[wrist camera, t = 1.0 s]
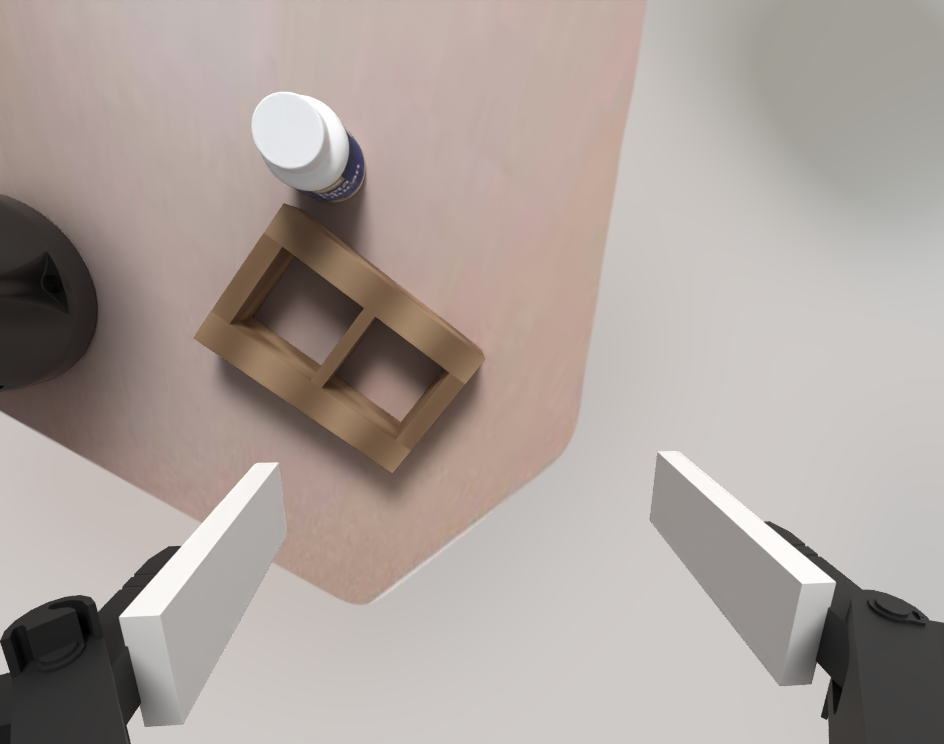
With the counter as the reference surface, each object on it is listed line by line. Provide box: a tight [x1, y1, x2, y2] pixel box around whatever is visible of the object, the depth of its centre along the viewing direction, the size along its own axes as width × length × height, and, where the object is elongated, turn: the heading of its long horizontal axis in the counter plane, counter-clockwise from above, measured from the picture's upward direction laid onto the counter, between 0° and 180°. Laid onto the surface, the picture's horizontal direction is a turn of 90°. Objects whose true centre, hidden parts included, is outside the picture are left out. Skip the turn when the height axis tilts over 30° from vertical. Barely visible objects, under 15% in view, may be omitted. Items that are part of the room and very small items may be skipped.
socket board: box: [194, 204, 485, 473], centre depth 36 cm, size 18×12×4 cm, turn 52°
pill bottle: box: [251, 92, 366, 203], centre depth 30 cm, size 5×5×10 cm
